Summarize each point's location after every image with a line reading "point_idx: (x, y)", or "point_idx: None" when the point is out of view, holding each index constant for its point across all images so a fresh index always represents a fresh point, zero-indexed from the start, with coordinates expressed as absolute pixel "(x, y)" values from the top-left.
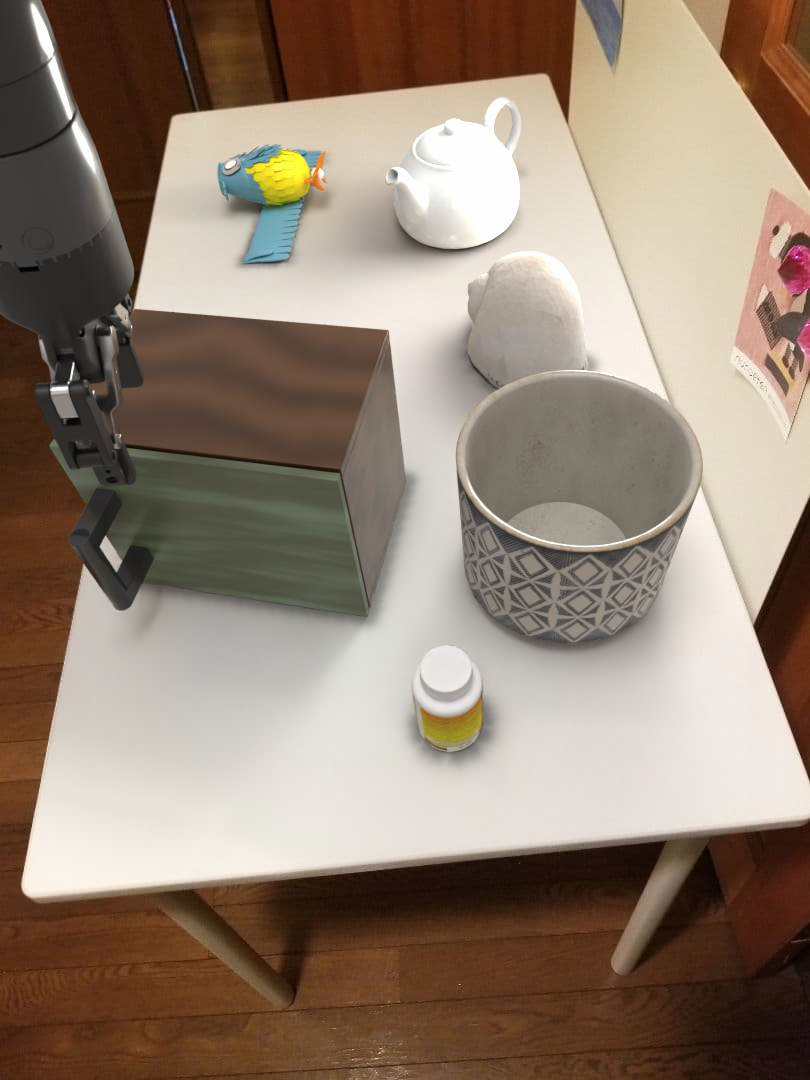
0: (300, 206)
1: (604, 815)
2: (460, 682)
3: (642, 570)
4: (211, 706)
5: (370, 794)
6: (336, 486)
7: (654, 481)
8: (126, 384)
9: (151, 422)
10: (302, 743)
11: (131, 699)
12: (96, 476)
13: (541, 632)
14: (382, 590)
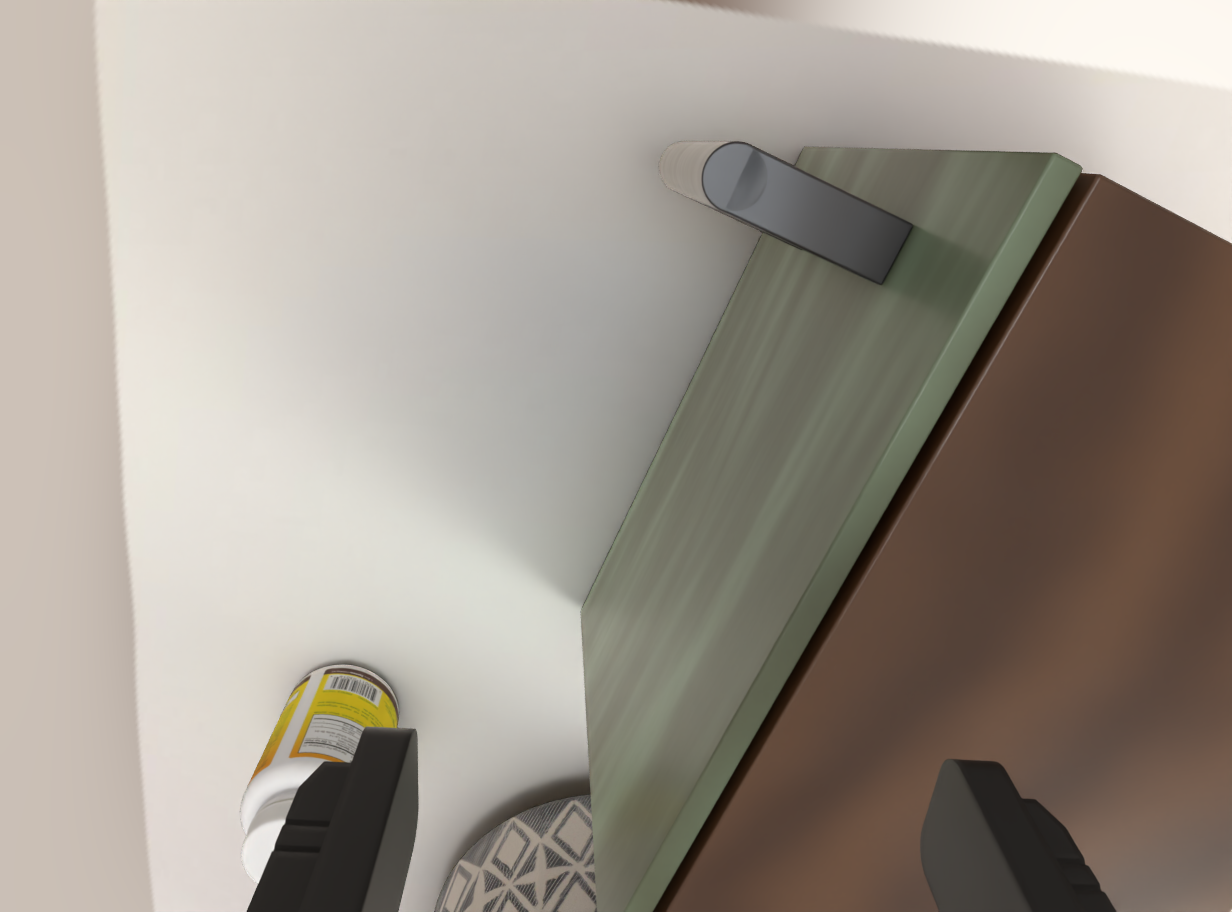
0: None
1: (173, 867)
2: (256, 876)
3: None
4: (448, 310)
5: (234, 572)
6: None
7: None
8: (937, 814)
9: (1007, 515)
10: (343, 473)
11: (496, 137)
12: (350, 767)
13: (446, 894)
14: None
